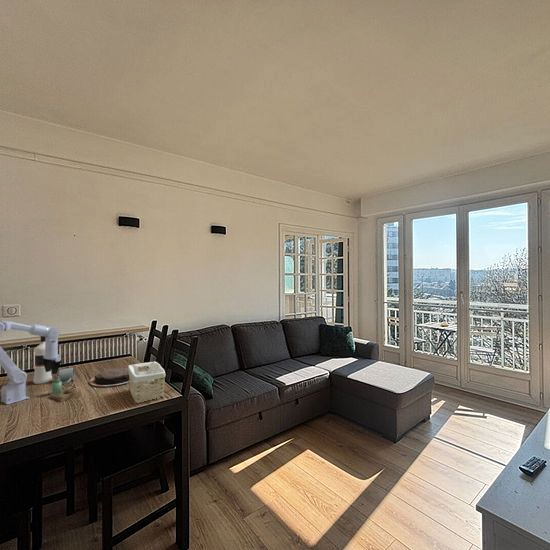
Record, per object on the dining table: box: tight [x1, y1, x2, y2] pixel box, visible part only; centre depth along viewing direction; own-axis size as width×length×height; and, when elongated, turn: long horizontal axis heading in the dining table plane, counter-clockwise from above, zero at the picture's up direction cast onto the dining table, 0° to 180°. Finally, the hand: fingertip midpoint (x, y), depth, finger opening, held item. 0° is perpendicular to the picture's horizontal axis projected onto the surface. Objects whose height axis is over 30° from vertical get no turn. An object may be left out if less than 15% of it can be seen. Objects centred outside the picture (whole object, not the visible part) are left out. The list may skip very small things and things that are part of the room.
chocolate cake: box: [89, 367, 130, 388], centre depth 192 cm, size 28×28×7 cm
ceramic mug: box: [57, 367, 75, 385], centre depth 188 cm, size 11×8×8 cm
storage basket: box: [127, 361, 166, 404], centre depth 169 cm, size 24×16×15 cm
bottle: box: [51, 376, 63, 395], centre depth 170 cm, size 4×4×9 cm
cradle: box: [49, 388, 82, 403], centre depth 165 cm, size 10×12×2 cm
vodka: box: [32, 336, 53, 385], centre depth 187 cm, size 9×9×30 cm
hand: (51, 372), depth 173 cm, fingers open, 7 cm apart
